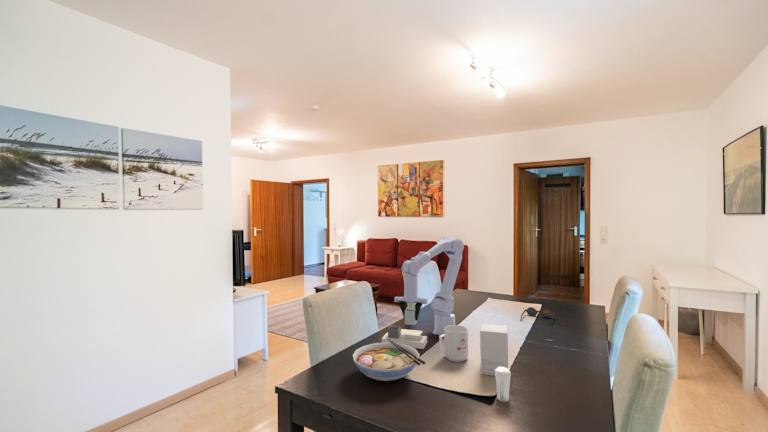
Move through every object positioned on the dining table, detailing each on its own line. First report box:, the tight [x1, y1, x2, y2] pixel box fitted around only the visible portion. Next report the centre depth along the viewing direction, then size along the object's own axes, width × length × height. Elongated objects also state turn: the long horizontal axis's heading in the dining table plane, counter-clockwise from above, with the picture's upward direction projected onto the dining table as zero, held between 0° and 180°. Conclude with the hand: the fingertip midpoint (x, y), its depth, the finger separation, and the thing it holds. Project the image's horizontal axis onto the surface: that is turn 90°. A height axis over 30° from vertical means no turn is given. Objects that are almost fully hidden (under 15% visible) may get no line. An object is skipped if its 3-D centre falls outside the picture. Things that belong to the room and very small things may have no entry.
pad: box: [401, 328, 423, 336], centre depth 158 cm, size 10×10×1 cm
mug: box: [438, 324, 469, 363], centre depth 131 cm, size 12×9×11 cm
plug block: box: [404, 307, 418, 326], centre depth 151 cm, size 4×4×6 cm
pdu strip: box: [381, 324, 428, 350], centre depth 147 cm, size 18×8×7 cm, turn 72°
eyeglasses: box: [520, 306, 555, 327], centre depth 178 cm, size 15×15×5 cm
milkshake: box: [493, 366, 512, 403], centre depth 102 cm, size 4×5×10 cm
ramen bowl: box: [352, 339, 426, 382], centre depth 117 cm, size 25×23×8 cm
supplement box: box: [479, 323, 509, 377], centre depth 121 cm, size 9×9×15 cm
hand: (410, 319), depth 151 cm, fingers closed on plug block, 4 cm apart
